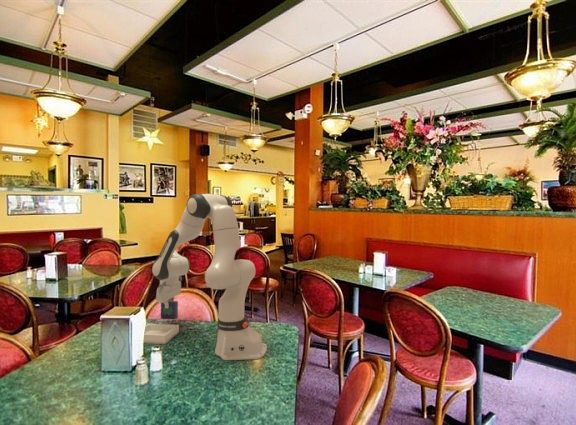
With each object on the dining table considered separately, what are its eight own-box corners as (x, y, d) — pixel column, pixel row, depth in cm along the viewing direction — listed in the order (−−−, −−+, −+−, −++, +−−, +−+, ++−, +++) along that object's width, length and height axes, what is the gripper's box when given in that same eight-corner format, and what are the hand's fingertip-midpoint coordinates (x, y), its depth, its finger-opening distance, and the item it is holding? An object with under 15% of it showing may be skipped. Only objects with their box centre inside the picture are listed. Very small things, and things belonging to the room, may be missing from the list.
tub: (178, 332, 158) (178, 324, 158) (165, 344, 144) (165, 335, 144) (148, 331, 160) (148, 323, 160) (132, 342, 146) (132, 334, 146)
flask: (178, 317, 166) (178, 297, 166) (176, 319, 163) (176, 298, 163) (162, 317, 167) (162, 297, 167) (159, 319, 164) (159, 298, 164)
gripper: (164, 284, 155) (165, 313, 155) (183, 276, 175) (183, 301, 175) (152, 284, 156) (152, 312, 155) (172, 276, 176) (172, 301, 176)
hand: (169, 306), depth 165 cm, fingers closed on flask, 3 cm apart
